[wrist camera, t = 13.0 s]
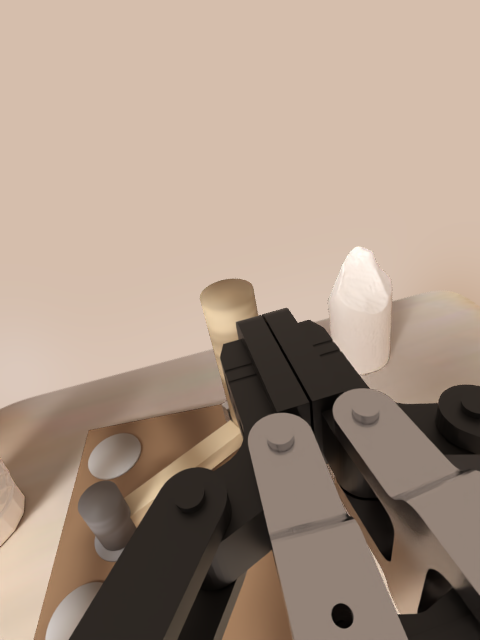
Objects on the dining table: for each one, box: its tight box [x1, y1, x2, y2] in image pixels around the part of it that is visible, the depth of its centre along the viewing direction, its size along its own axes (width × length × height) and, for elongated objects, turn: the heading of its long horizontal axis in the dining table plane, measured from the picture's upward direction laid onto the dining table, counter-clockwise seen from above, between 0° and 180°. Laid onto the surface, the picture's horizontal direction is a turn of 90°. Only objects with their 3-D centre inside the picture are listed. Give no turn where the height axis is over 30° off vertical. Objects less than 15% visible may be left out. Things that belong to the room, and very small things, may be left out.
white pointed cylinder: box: [328, 246, 392, 374], centre depth 39 cm, size 6×12×6 cm
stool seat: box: [34, 404, 293, 640], centre depth 29 cm, size 19×19×2 cm
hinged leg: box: [78, 279, 258, 551], centre depth 27 cm, size 16×4×13 cm, turn 129°
